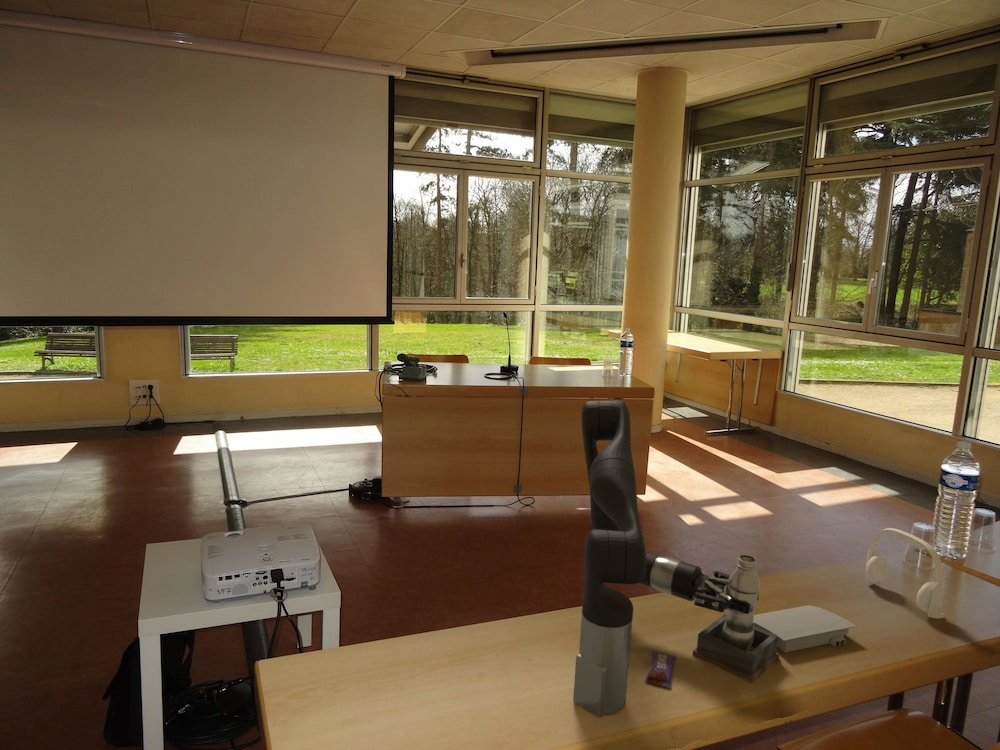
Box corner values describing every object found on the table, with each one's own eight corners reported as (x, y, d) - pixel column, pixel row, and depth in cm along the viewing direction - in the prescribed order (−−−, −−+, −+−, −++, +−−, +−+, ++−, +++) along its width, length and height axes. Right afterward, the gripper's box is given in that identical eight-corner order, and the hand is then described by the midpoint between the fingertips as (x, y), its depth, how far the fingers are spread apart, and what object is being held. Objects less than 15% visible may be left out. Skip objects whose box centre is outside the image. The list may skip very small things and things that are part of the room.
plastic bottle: (755, 644, 149) (767, 556, 145) (748, 660, 143) (760, 568, 139) (724, 634, 152) (735, 548, 148) (716, 649, 146) (727, 560, 142)
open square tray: (751, 683, 139) (754, 660, 138) (692, 655, 147) (694, 633, 147) (778, 657, 148) (781, 636, 147) (721, 632, 157) (723, 612, 156)
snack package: (652, 646, 148) (677, 652, 146) (652, 655, 148) (676, 660, 146) (645, 676, 137) (671, 683, 135) (644, 685, 137) (670, 692, 136)
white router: (864, 645, 155) (867, 628, 155) (782, 662, 147) (785, 645, 146) (811, 611, 169) (814, 596, 169) (734, 625, 161) (736, 609, 160)
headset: (856, 584, 183) (866, 520, 180) (877, 581, 186) (887, 517, 183) (925, 623, 165) (936, 552, 162) (947, 619, 167) (959, 549, 164)
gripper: (665, 573, 146) (747, 599, 137) (688, 550, 158) (765, 573, 149) (661, 606, 148) (742, 634, 139) (685, 581, 160) (760, 605, 151)
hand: (753, 602), depth 144 cm, fingers closed on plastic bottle, 6 cm apart
